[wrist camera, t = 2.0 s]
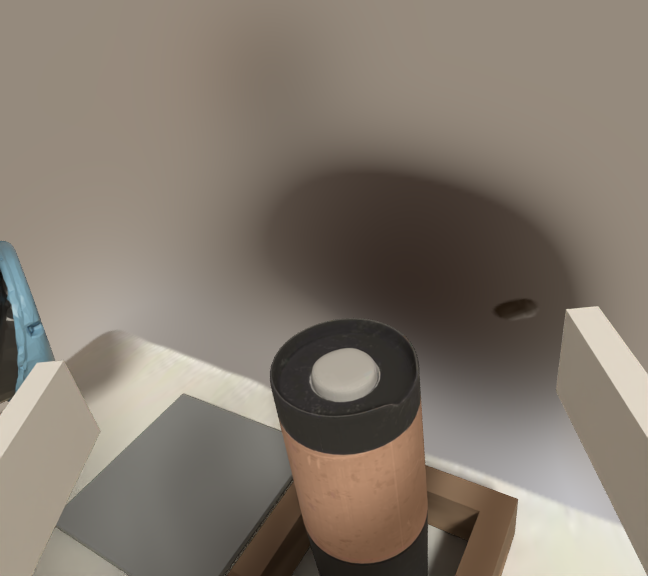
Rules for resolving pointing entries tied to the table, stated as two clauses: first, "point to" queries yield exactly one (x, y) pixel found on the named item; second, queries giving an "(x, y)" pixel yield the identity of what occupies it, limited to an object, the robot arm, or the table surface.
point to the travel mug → (356, 446)
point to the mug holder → (443, 512)
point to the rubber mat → (182, 493)
